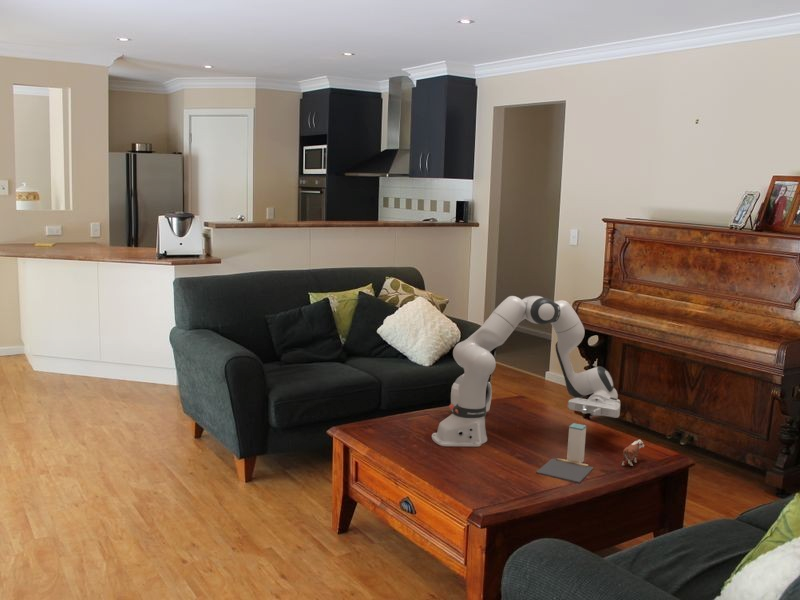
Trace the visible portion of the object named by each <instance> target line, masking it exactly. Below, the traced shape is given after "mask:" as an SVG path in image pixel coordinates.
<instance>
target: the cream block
mask: <svg viewBox="0 0 800 600" xmlns="http://www.w3.org/2000/svg"><path fill="white" fill-rule="evenodd" d="M586 435H587V425H585V424H581V423H572V424H570V425H569V426H568V435H567V436H568V438H567V439H568V441H567V451H566V452H567V453H566V454H567V455H566V460H570V461H574V462H579V463H584V460H585V452H586V450H585V449H586V448H585V447H586Z"/></svg>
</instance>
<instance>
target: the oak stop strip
mask: <svg viewBox="0 0 800 600" xmlns="http://www.w3.org/2000/svg"><path fill="white" fill-rule="evenodd" d="M555 459H556V460H557V461H562V462H566V463H571V464H575V465H580V466H584V467H588V466H589V464H587V463H584V462H582V463H579V462H574V461H570V460H567V459H565V458H559V457H557V458H555Z"/></svg>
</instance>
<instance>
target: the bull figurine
mask: <svg viewBox="0 0 800 600" xmlns="http://www.w3.org/2000/svg"><path fill="white" fill-rule="evenodd" d="M641 448H645V444H644V442H643V441H642V440H641V439H634V441H633V442H632V443H630V444H629V445H628V446H626V447H624V449H623V451H622V464H621V466H623V467H624V466H625V460H626V461H627V462H628V463H627V464H628V465H629V466H632V467H633V466H634V465H633V463H636V464H637V462H638V461H637V458H638V455H639V453H640V449H641ZM633 458H634V460H633ZM632 462H633V463H632Z"/></svg>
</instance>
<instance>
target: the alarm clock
mask: <svg viewBox="0 0 800 600" xmlns="http://www.w3.org/2000/svg"><path fill="white" fill-rule="evenodd" d="M463 376H464V373H463V374H460V376H458V377H457V378H456V379H455V381H454V382H453V384H452V385H451V392H450V404H453V405H454V406H456V405H457V404H458V388H459V384H460V383H461V382H462V380H463ZM492 387H493V386H492V384H491V382H490V381H488V383H487V387H486V399H485V406H486V413H487V412H489V411H490V407H491V402H492V394H493V391H492V390H493V388H492ZM451 412H452V413H453V410H451Z"/></svg>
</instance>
